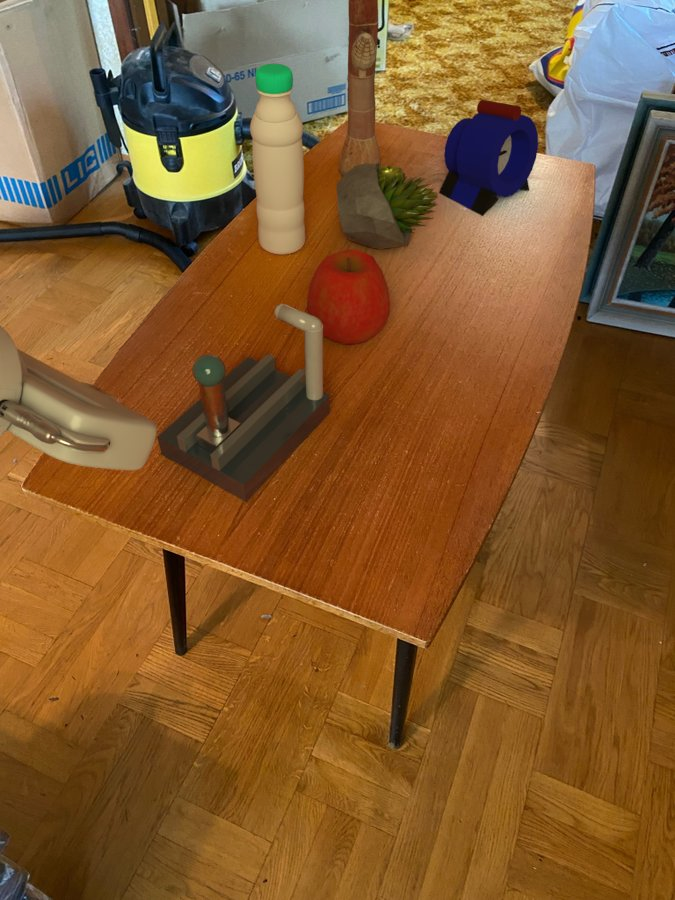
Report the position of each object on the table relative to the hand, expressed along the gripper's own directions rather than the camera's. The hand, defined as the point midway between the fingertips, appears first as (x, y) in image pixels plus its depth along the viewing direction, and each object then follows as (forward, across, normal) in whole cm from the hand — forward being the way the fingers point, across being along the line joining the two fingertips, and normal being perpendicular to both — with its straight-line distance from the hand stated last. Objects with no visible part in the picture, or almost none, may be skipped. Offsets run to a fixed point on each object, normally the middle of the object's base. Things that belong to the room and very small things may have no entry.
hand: (102, 400), depth 58 cm
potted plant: (+57, +8, -29) cm, 65 cm away
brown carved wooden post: (+68, +22, -40) cm, 82 cm away
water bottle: (+50, +20, -22) cm, 58 cm away
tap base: (+26, 0, +2) cm, 26 cm away
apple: (+42, +2, -14) cm, 44 cm away
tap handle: (+20, 0, +3) cm, 20 cm away
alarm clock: (+73, +2, -44) cm, 85 cm away
